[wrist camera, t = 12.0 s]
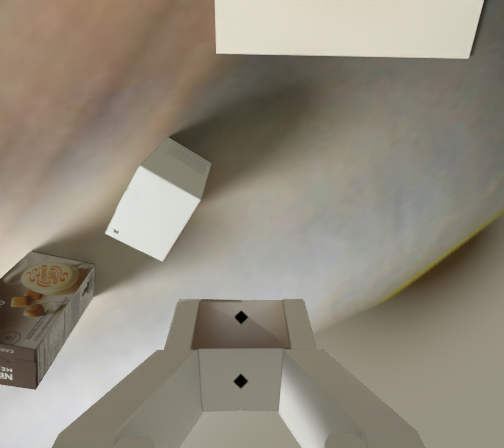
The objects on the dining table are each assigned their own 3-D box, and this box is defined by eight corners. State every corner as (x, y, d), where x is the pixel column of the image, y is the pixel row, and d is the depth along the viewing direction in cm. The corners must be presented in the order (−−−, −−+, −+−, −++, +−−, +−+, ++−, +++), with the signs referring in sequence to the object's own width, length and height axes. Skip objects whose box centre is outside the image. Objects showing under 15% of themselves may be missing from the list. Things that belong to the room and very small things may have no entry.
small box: (183, 212, 45) (162, 264, 33) (140, 188, 44) (101, 234, 32) (213, 162, 42) (202, 200, 31) (168, 134, 41) (138, 163, 29)
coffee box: (30, 286, 50) (-58, 378, 35) (30, 249, 47) (-66, 332, 32) (94, 298, 51) (35, 391, 36) (97, 263, 48) (34, 348, 34)
